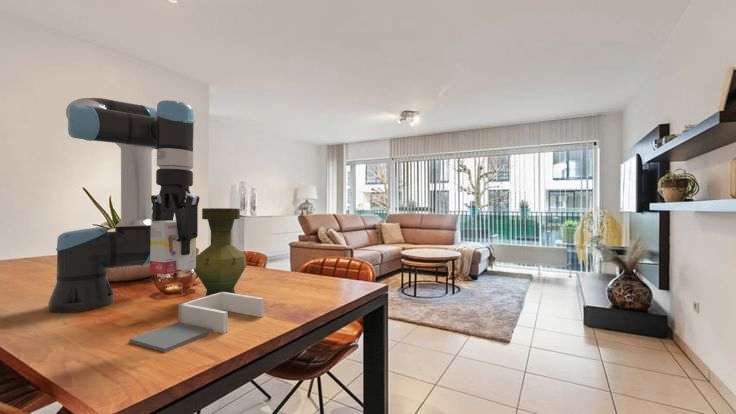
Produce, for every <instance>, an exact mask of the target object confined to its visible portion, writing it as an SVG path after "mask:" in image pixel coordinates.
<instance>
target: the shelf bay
mask: <svg viewBox="0 0 736 414" xmlns="http://www.w3.org/2000/svg"><path fill="white" fill-rule="evenodd" d="M205 296H206V295H205ZM205 296H203V297H199V298H196V299H192V300H190V301H186V302H182V303H180V304H178V313H177V314H178V317H177V318H178V321H177V322H180V323H185V324H189V325H194V326H198V327H203V328H208V329H212V332H214V333H215V332H216V333H219V334H226V333H228V328H229V326H228V323H229V320H228V319H229V316H228V314H229V313H228V312H231V313H236V314H243V315H246V316H247V315H248V316H253V317H258V318H262V317H264V316H265V297H259V296H253V295H246V294H239V293H235V294H234V293H227V292H220V293H216V294H213V295H209V296H206V297H205Z"/></svg>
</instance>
